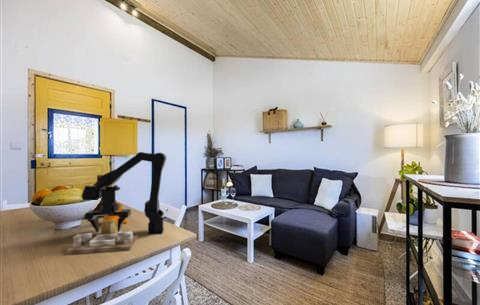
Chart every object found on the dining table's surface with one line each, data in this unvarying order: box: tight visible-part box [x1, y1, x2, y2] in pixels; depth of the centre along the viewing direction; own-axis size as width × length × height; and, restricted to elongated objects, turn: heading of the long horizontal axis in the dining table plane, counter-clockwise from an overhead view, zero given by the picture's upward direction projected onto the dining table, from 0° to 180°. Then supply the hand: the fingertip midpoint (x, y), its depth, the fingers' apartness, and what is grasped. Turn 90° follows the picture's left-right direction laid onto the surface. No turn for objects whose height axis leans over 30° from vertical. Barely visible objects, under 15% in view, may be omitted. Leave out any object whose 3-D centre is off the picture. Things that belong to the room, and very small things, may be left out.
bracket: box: [102, 200, 129, 227], centre depth 121 cm, size 11×7×12 cm, turn 132°
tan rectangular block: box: [100, 220, 116, 235], centre depth 105 cm, size 6×4×6 cm, turn 11°
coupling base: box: [66, 230, 139, 255], centre depth 93 cm, size 23×12×6 cm, turn 101°
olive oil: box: [92, 174, 110, 219], centre depth 133 cm, size 11×11×25 cm
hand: (108, 231), depth 105 cm, fingers open, 9 cm apart
